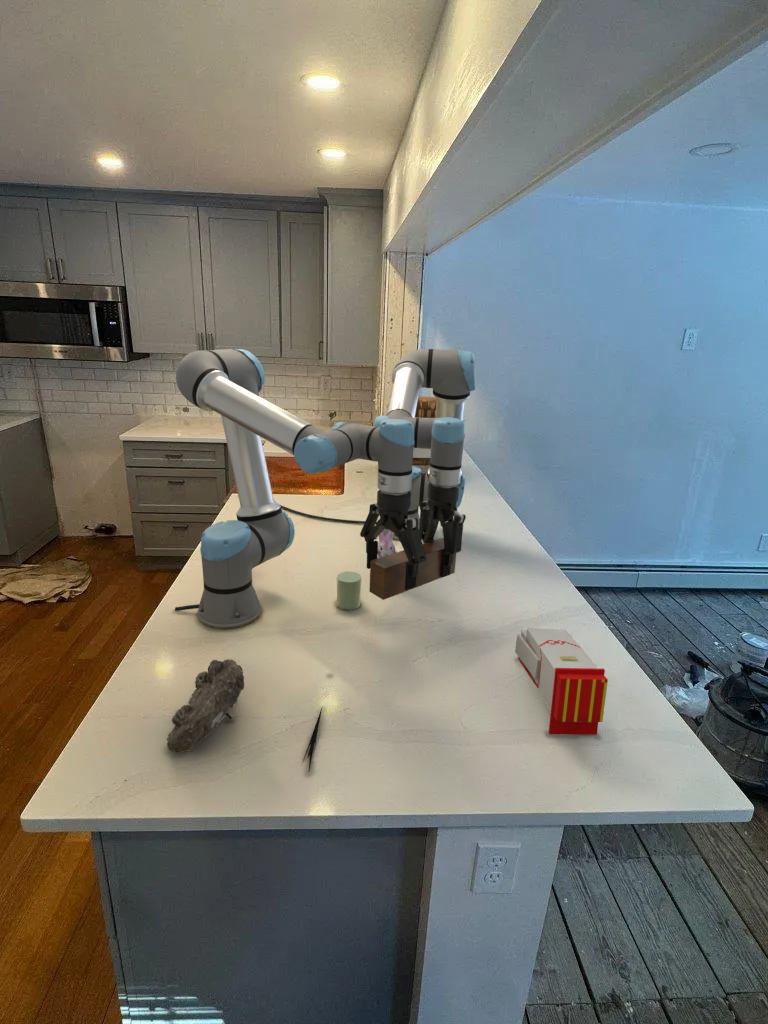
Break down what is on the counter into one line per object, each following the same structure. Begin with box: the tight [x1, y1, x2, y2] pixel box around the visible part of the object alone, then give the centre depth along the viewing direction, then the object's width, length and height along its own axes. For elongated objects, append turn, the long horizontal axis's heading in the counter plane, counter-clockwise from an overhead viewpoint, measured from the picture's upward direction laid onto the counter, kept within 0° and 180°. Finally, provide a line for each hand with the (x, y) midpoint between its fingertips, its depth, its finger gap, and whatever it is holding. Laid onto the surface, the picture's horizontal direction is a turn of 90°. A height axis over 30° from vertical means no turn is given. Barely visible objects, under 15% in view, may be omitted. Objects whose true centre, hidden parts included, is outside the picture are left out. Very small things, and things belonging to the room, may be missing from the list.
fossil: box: [166, 658, 245, 754], centre depth 106 cm, size 22×10×15 cm
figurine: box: [377, 530, 398, 559], centre depth 165 cm, size 9×10×15 cm
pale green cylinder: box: [336, 571, 362, 611], centre depth 150 cm, size 6×6×8 cm
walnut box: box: [368, 537, 457, 601], centre depth 137 cm, size 24×5×8 cm, turn 131°
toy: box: [514, 627, 609, 736], centre depth 119 cm, size 12×13×30 cm
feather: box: [301, 673, 332, 771], centre depth 108 cm, size 2×28×2 cm
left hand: (390, 577), depth 132 cm, fingers open, 13 cm apart
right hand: (436, 571), depth 143 cm, fingers closed on walnut box, 5 cm apart
